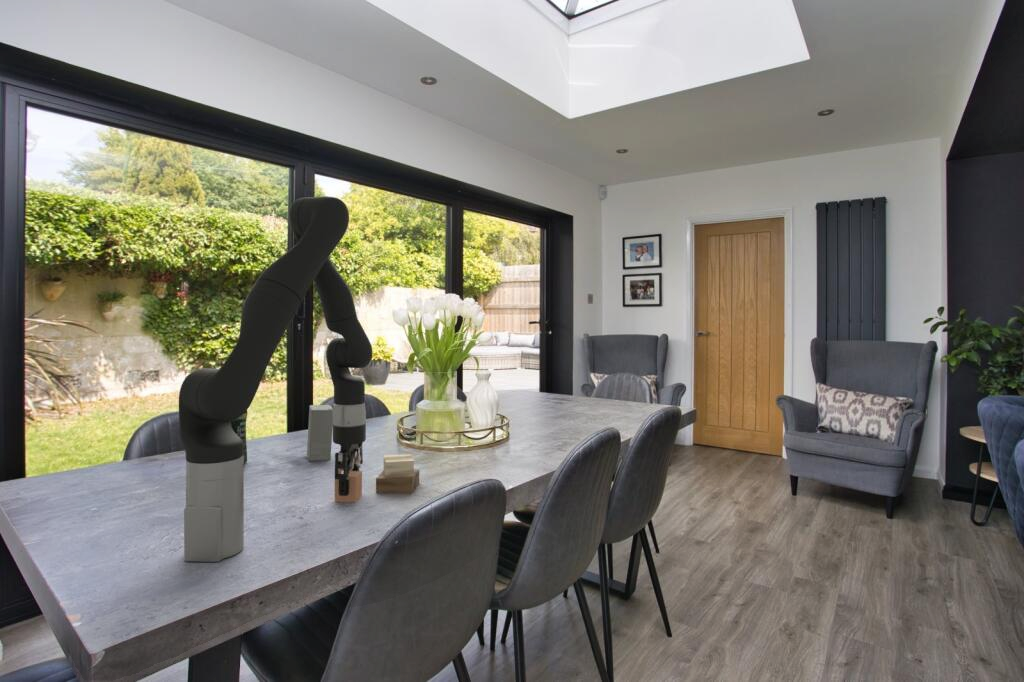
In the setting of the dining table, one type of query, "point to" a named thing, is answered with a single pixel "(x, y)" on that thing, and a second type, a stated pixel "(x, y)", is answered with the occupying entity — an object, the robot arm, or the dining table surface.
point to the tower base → (397, 484)
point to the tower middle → (398, 466)
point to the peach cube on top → (350, 488)
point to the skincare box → (319, 432)
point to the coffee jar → (241, 431)
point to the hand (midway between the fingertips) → (349, 489)
